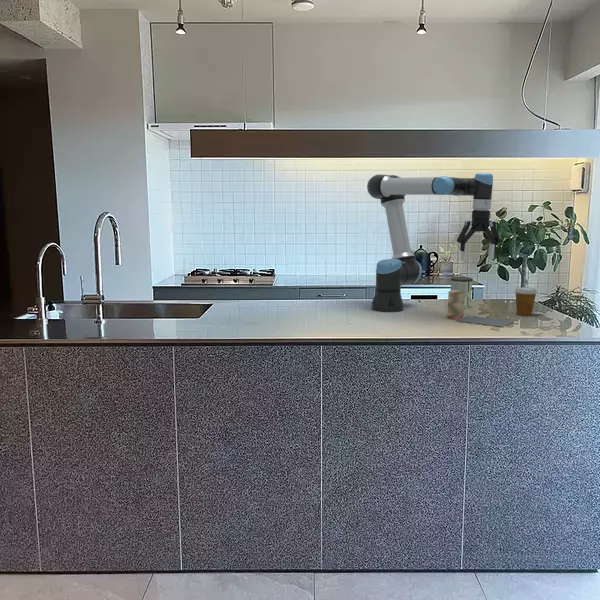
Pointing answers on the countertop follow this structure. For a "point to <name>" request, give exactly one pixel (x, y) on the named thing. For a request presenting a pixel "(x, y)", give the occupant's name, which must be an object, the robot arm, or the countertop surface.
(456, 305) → the oak block
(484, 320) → the mat
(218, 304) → the countertop surface
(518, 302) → the disposable coffee cup
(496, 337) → the countertop surface
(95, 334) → the countertop surface
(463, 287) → the lidded glass jar
